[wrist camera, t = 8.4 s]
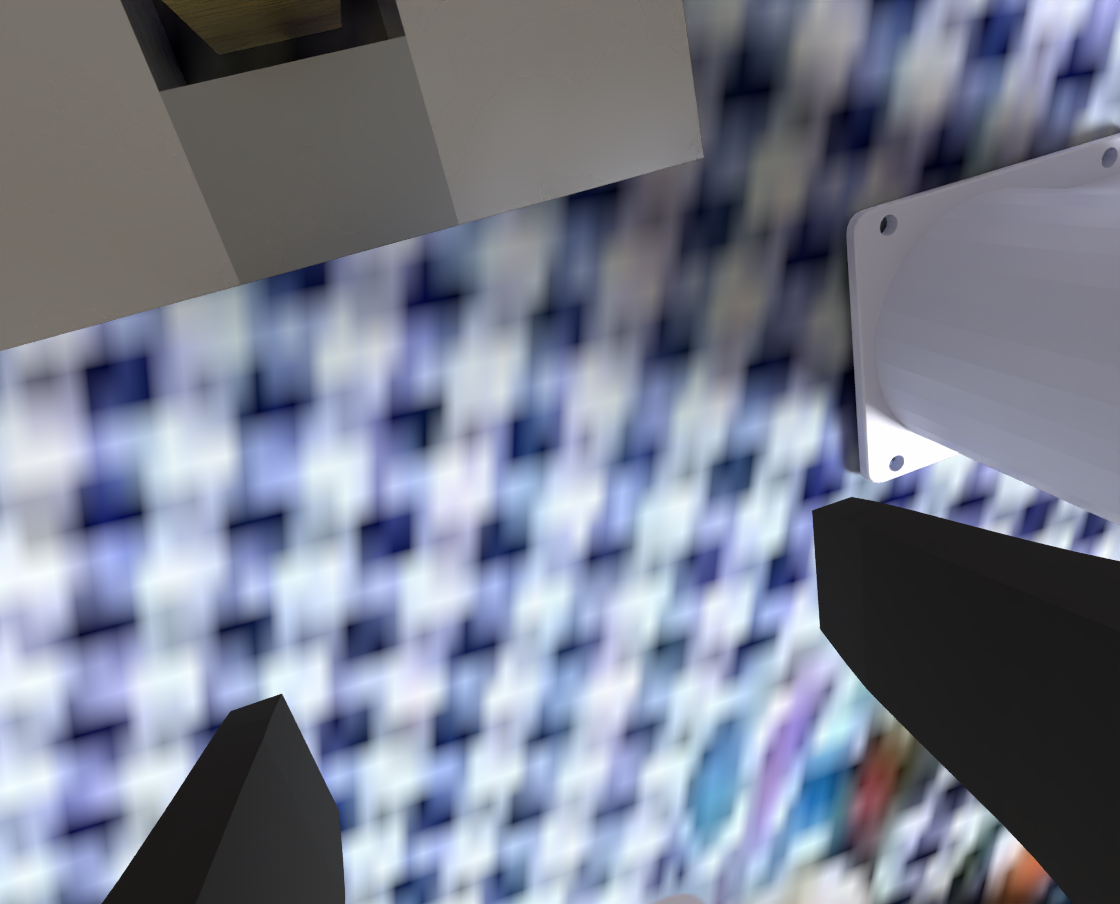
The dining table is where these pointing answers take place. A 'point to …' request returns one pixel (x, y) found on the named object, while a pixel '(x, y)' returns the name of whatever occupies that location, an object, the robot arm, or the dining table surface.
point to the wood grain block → (255, 20)
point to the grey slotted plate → (307, 142)
